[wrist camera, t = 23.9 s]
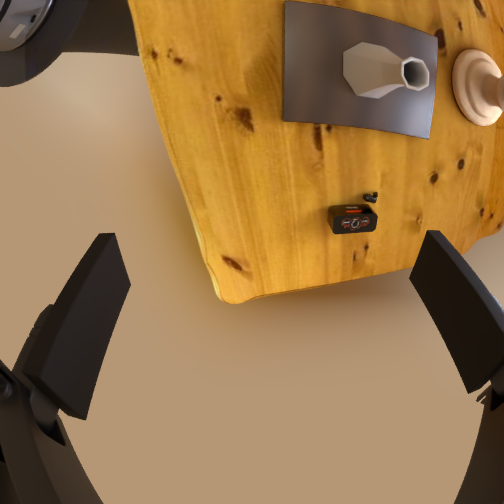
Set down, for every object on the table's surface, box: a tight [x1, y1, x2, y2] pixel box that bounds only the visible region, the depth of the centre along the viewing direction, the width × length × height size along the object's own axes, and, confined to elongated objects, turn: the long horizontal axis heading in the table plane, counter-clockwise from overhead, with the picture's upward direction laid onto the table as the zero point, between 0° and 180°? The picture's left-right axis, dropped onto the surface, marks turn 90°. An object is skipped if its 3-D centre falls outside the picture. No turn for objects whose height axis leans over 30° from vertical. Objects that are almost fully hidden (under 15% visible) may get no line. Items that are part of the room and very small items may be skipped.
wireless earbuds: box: [327, 192, 378, 234], centre depth 36 cm, size 5×7×3 cm, turn 95°
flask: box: [343, 42, 429, 99], centre depth 21 cm, size 7×7×10 cm
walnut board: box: [281, 0, 438, 139], centre depth 26 cm, size 20×15×2 cm
